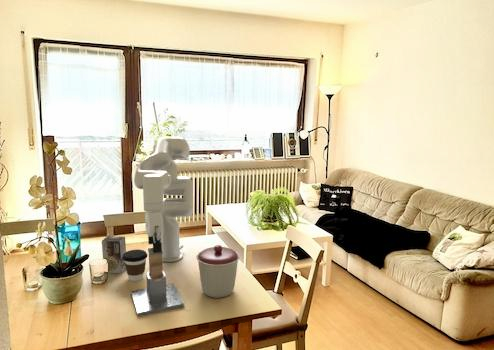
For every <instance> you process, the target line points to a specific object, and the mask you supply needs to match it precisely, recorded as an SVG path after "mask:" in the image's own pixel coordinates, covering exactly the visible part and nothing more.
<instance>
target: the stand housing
mask: <svg viewBox="0 0 494 350" xmlns="http://www.w3.org/2000/svg"><path fill="white" fill-rule="evenodd" d="M145 276H146V288H141V289H136V290H131V291H130V294H131V298H132V302H133V305H134V308H135V312H136V313H135V314H136V315H137V318H138V317H142V316H147V315H152V314H156V313H161V312H166V311H171V310H176V309H180V308H184V307H185V302H184V300H183V299H182V297H181V295H180V292H179V291H178V289H177V288H176V286H175V285H176V284H174V283H169V284H167V275H166V273H165V271H164V270H163V276H161V277H156V278H150V276H149V271H146V273H145Z"/></svg>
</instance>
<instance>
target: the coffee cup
mask: <svg viewBox="0 0 494 350" xmlns="http://www.w3.org/2000/svg"><path fill="white" fill-rule="evenodd" d="M147 257H148V253H147V252H146V251H145V250H144V249H131V250H126V252H125V253H124V254H123V256H122V258H123V260H124V262H125V267H126V270H125V272H126V274H127V277H128V281H130V282H140V281H141V280H143V278H144V277H145V271H146V264H147V263H146V262H147Z"/></svg>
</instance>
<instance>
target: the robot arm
mask: <svg viewBox="0 0 494 350" xmlns="http://www.w3.org/2000/svg"><path fill="white" fill-rule="evenodd" d="M152 147H153V148H152V149H153V150H152V153H151V155H149V156H147V157H146V158H144V159H143V160H141V161H140V162H139V163H138V165H137V166H136V170H135V173H134V178H133V183H134V186H135V187H136V188H137V189H139V190H142V191H143V193H142V195H143V211H144V212H145V232H146V234H147V236H148V237H147V238H148V245H152V248H153V253H157V252H162V251H163V254H162V263H174V262H178V261H181V260H182V258H183V257H184V254H183V253H182V252H181V250H182V249H183V248H184V244H181V243H180V224H179V222H178V220H177V219H176V218H188V217H191V216H192V215H193V211H194V186H193V185H194V183H193V180H192V178H191V177H189V176H179V175H178V164H177V163H176V162H175V161H174V160H180V161H181V160H183V161H184V160H187V159H188V158H189V156H190V153H191V152H190V146H189V143H188V141H187V139H186V138H184V137H181V136H161V137H158V138H157V139H156V140H155V141H154V144H153V146H152ZM164 195H165V196H182V197H165V198H164Z"/></svg>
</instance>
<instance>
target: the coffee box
mask: <svg viewBox="0 0 494 350" xmlns="http://www.w3.org/2000/svg"><path fill="white" fill-rule="evenodd" d="M101 250H102V260H103V259H106V260H107V263H108V274H123V273H124V272H126V267H125V262H124V260H123V258H122V256H123V254H124V253H125V252H127V250H126V236H116V235H115V236H114V235H110V236H109V235H108V236H106V237H104V238H103V239H102V240H101Z"/></svg>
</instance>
